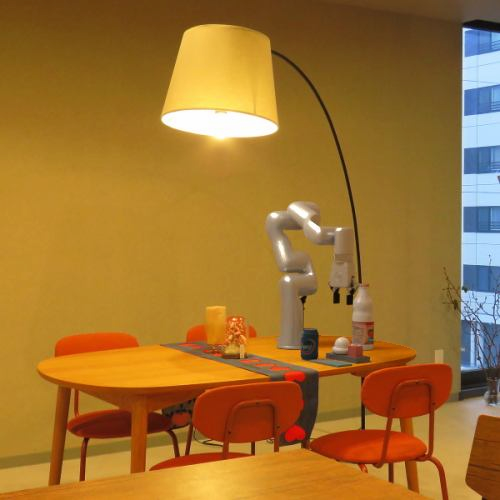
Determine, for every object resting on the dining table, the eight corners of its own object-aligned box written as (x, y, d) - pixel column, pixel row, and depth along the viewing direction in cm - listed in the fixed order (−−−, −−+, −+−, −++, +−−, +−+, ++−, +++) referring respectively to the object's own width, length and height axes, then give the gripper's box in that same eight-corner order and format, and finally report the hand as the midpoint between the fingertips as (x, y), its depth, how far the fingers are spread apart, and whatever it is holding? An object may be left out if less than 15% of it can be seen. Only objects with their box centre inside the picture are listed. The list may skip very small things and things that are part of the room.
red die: (347, 355, 297) (348, 344, 297) (355, 354, 300) (355, 343, 300) (355, 357, 294) (355, 345, 294) (362, 356, 297) (362, 344, 297)
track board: (309, 361, 294) (309, 360, 294) (323, 360, 299) (323, 358, 299) (337, 367, 283) (337, 365, 283) (352, 365, 287) (352, 363, 287)
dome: (328, 352, 303) (328, 336, 303) (342, 350, 308) (342, 335, 308) (342, 354, 297) (342, 339, 297) (356, 352, 302) (356, 337, 302)
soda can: (299, 360, 297) (299, 329, 297) (302, 357, 304) (302, 327, 304) (317, 361, 296) (317, 330, 295) (319, 358, 302) (319, 328, 302)
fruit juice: (351, 347, 336) (352, 282, 335) (373, 347, 335) (374, 283, 334) (351, 350, 326) (352, 284, 326) (374, 350, 325) (375, 284, 325)
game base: (325, 358, 304) (325, 352, 304) (340, 356, 309) (340, 351, 309) (355, 363, 292) (355, 358, 292) (370, 361, 297) (370, 356, 297)
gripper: (321, 258, 306) (320, 303, 307) (353, 259, 293) (352, 306, 293) (334, 257, 311) (333, 302, 311) (366, 259, 298) (366, 305, 298)
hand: (343, 303), depth 302 cm, fingers open, 6 cm apart
